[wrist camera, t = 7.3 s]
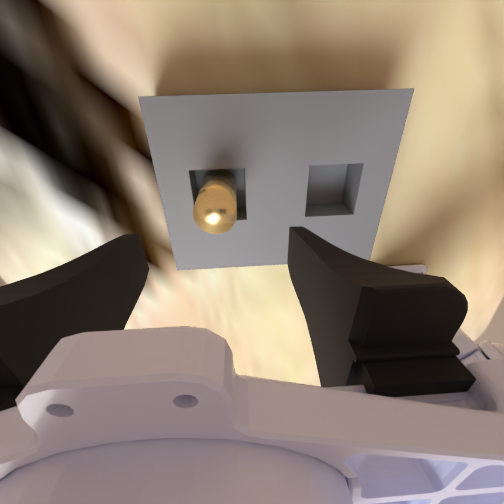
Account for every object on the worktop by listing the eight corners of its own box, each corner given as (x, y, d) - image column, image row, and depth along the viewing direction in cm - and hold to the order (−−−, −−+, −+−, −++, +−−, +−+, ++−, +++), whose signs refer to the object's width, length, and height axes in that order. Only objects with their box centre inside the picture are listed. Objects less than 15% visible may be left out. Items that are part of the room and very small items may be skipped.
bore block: (354, 242, 23) (369, 259, 21) (183, 251, 23) (177, 270, 20) (387, 90, 17) (414, 88, 15) (153, 97, 17) (138, 96, 14)
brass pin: (235, 200, 20) (236, 234, 15) (204, 199, 20) (194, 233, 15) (236, 168, 19) (237, 194, 14) (202, 167, 19) (191, 192, 14)
